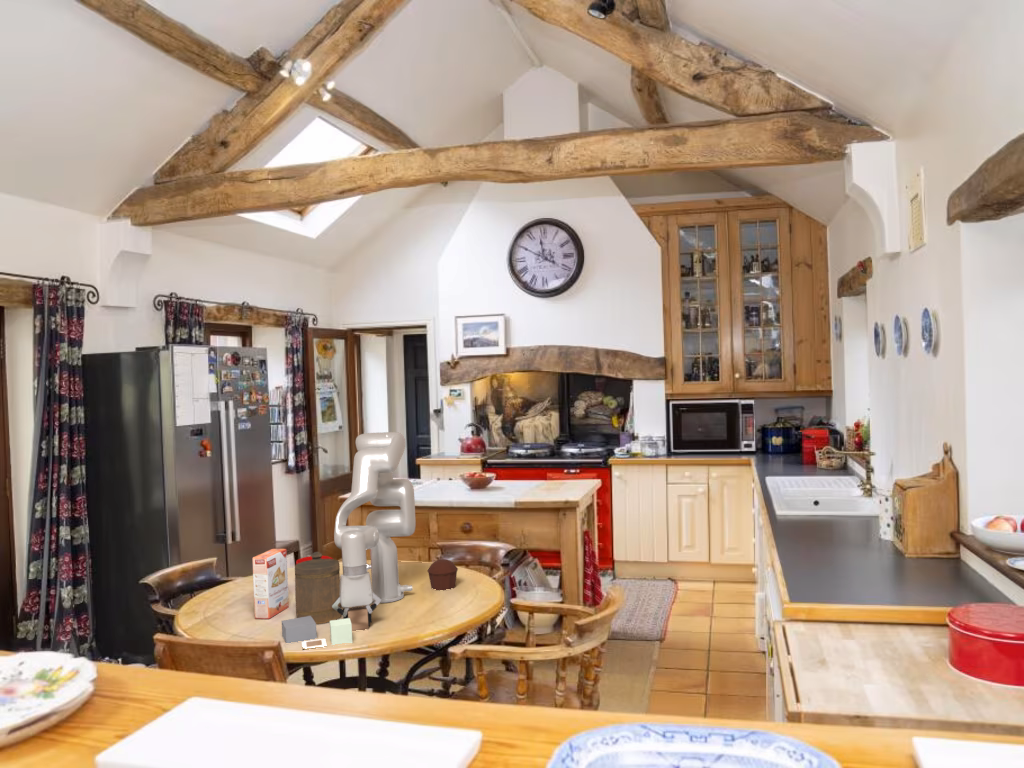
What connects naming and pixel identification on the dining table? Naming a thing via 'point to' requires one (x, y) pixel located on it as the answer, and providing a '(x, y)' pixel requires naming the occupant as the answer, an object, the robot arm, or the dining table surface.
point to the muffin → (442, 574)
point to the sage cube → (341, 631)
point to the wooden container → (317, 588)
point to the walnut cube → (358, 617)
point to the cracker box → (270, 583)
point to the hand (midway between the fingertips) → (357, 626)
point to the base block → (299, 629)
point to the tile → (314, 643)
